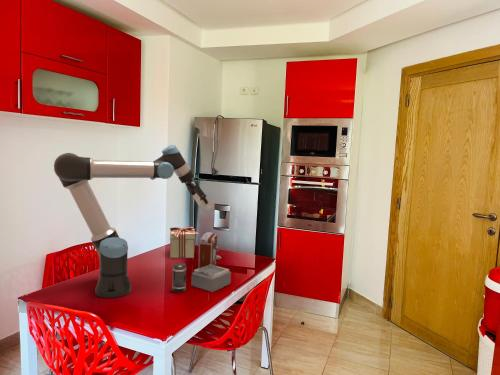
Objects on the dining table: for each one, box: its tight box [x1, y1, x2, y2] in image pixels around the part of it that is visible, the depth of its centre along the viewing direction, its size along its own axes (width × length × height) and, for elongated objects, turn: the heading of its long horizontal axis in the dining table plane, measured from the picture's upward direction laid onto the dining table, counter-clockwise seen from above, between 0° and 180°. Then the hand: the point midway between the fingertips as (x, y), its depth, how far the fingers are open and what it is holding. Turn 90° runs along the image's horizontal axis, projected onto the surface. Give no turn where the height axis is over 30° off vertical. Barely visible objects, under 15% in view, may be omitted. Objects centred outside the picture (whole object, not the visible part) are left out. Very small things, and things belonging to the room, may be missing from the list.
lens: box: [171, 262, 187, 294], centre depth 173 cm, size 6×6×12 cm
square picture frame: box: [193, 264, 230, 279], centre depth 181 cm, size 12×12×2 cm
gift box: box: [169, 226, 200, 259], centre depth 228 cm, size 17×18×17 cm
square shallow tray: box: [190, 268, 232, 293], centre depth 182 cm, size 14×13×6 cm
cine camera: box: [197, 231, 219, 269], centre depth 203 cm, size 9×19×20 cm, turn 174°
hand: (205, 206), depth 198 cm, fingers open, 13 cm apart
